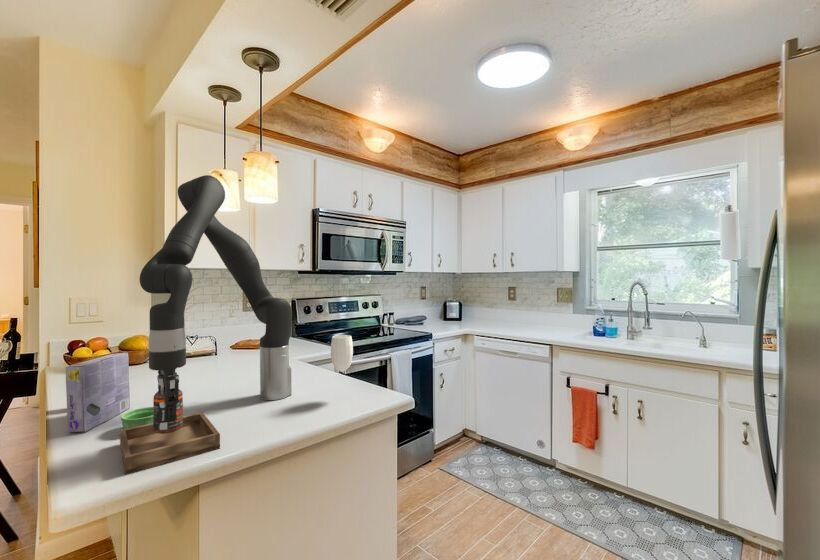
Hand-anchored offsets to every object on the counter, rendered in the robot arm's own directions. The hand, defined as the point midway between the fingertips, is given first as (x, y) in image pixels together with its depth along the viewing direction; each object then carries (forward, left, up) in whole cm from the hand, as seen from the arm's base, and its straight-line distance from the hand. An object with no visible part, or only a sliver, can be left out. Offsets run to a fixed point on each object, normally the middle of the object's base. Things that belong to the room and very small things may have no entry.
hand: (168, 416), depth 90 cm
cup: (-49, -3, -7) cm, 50 cm away
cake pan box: (+12, -32, -7) cm, 35 cm away
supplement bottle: (0, 0, -3) cm, 3 cm away
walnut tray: (0, 0, -7) cm, 7 cm away
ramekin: (+4, -17, -8) cm, 19 cm away
